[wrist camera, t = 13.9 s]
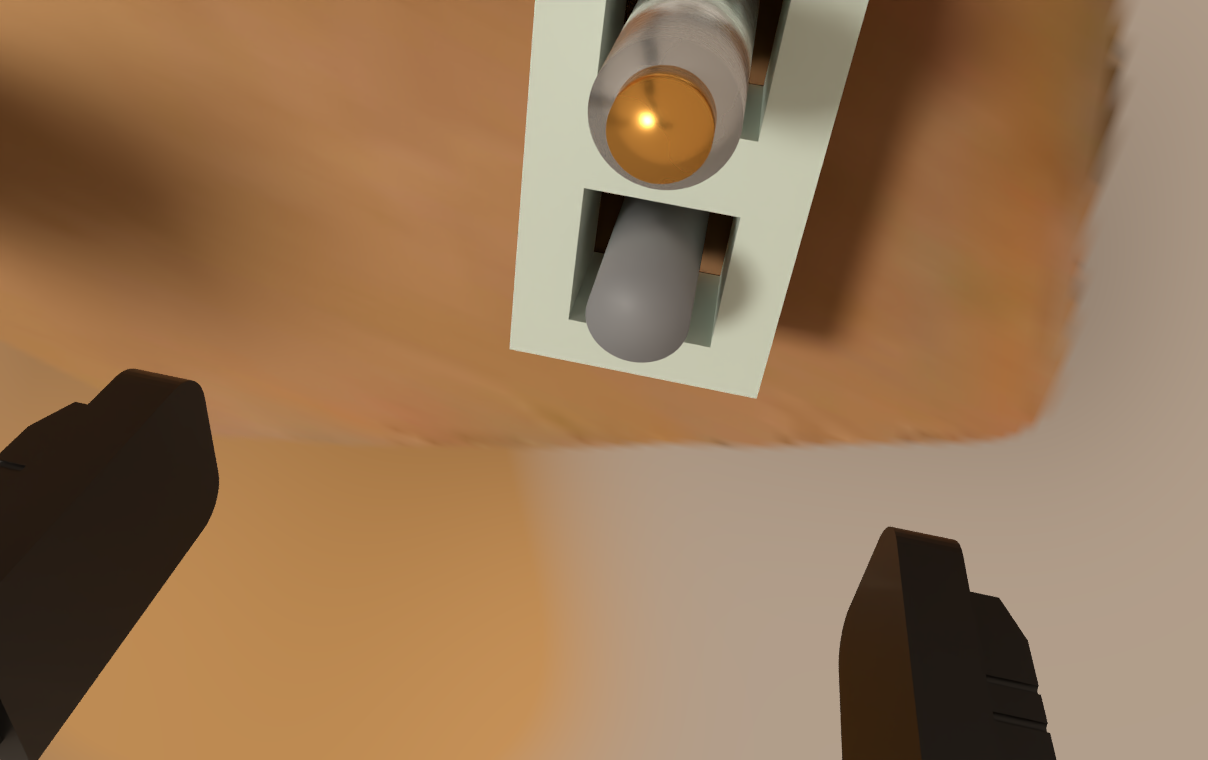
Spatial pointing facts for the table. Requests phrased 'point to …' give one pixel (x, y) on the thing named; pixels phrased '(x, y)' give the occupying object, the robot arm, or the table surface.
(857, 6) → the rack
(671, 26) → the silver battery cell
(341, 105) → the table surface
